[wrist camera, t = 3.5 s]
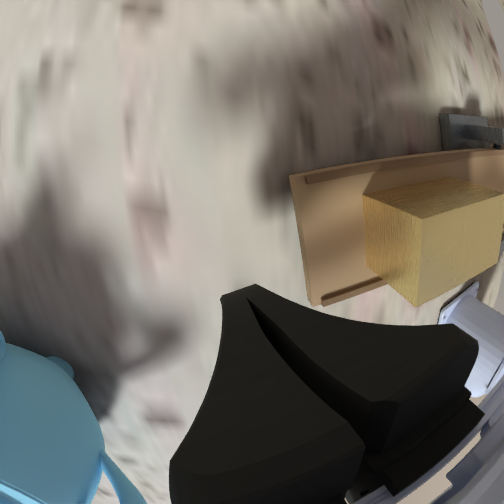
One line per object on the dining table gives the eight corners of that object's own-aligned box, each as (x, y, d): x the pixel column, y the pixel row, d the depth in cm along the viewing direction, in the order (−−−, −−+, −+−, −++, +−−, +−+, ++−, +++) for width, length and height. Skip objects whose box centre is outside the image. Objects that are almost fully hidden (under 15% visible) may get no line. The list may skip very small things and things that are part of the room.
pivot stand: (480, 233, 22) (513, 247, 17) (441, 258, 20) (482, 278, 16) (478, 116, 17) (517, 120, 13) (438, 113, 15) (488, 116, 11)
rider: (448, 236, 15) (497, 262, 11) (366, 265, 14) (415, 307, 10) (449, 176, 13) (505, 193, 9) (362, 194, 13) (422, 219, 9)
